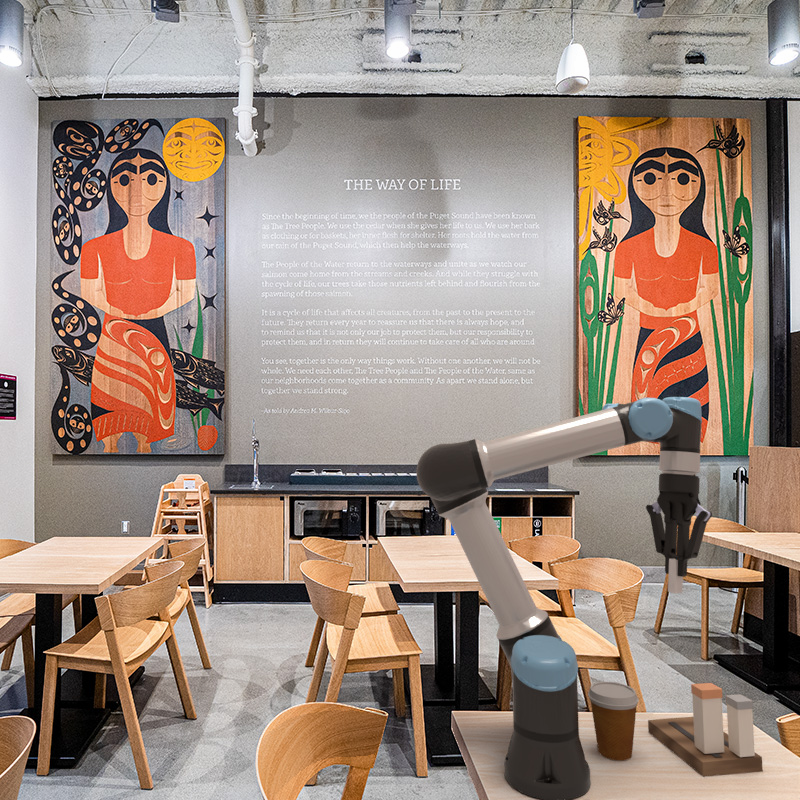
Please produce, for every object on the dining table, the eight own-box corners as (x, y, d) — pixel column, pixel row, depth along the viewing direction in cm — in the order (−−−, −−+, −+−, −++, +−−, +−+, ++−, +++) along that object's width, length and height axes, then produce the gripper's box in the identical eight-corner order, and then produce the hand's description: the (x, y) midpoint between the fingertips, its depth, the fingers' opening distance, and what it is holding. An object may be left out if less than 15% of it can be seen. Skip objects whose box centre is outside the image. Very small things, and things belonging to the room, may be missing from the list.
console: (648, 732, 129) (647, 715, 129) (700, 728, 131) (699, 711, 131) (703, 776, 111) (702, 756, 111) (762, 771, 113) (761, 751, 113)
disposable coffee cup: (645, 767, 114) (642, 700, 115) (592, 762, 116) (590, 697, 117) (636, 744, 124) (634, 682, 125) (587, 739, 126) (585, 679, 127)
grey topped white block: (728, 749, 116) (725, 695, 116) (743, 747, 116) (740, 694, 117) (740, 757, 112) (737, 702, 113) (755, 756, 113) (752, 700, 114)
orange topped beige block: (693, 746, 117) (691, 684, 118) (713, 744, 117) (710, 682, 118) (704, 754, 114) (701, 690, 115) (725, 752, 114) (722, 689, 115)
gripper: (720, 476, 121) (717, 598, 119) (659, 472, 132) (655, 584, 130) (701, 474, 117) (697, 600, 115) (639, 470, 128) (634, 586, 125)
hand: (675, 592), depth 122 cm, fingers closed
